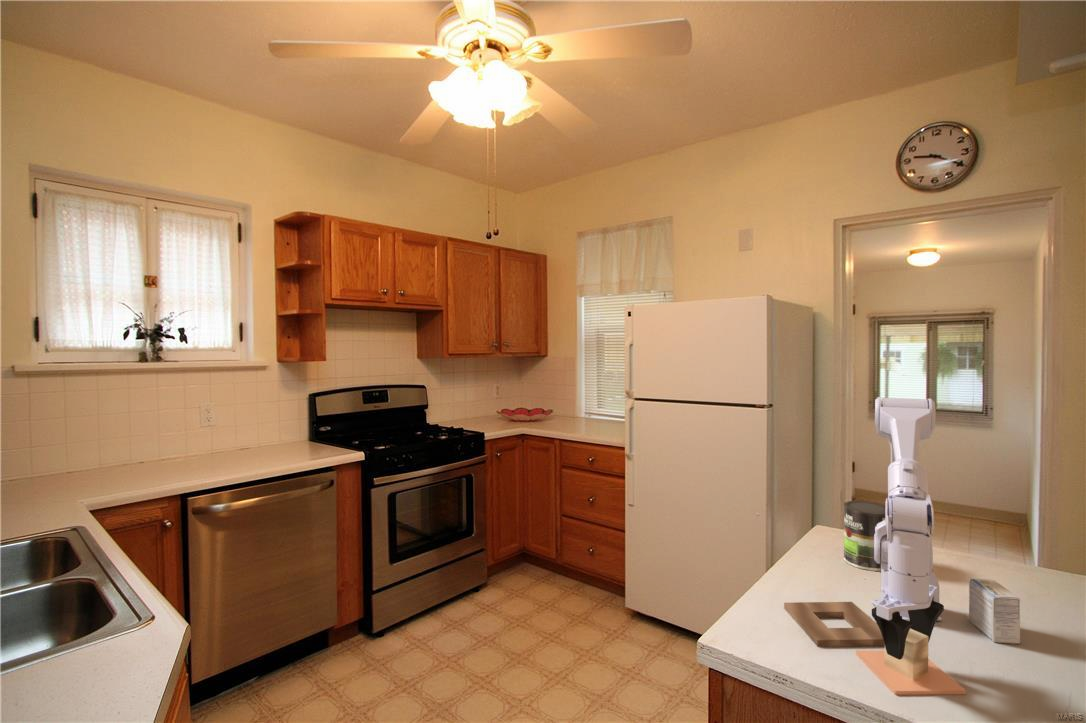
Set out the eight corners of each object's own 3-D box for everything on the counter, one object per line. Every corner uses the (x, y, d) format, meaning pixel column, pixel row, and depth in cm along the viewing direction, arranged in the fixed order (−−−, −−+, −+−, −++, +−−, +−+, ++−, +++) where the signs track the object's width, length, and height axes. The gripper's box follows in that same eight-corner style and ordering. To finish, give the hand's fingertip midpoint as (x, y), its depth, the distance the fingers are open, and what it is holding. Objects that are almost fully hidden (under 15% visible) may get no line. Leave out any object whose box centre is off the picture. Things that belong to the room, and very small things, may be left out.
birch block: (899, 657, 94) (899, 624, 93) (928, 671, 90) (928, 636, 89) (884, 665, 92) (884, 631, 91) (913, 680, 88) (913, 644, 87)
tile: (918, 653, 96) (918, 650, 96) (965, 694, 85) (965, 690, 85) (855, 654, 96) (855, 650, 96) (895, 694, 85) (895, 691, 85)
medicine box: (1020, 645, 98) (1021, 598, 98) (992, 643, 99) (993, 596, 98) (994, 622, 106) (994, 579, 105) (968, 620, 106) (968, 577, 106)
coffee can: (862, 573, 129) (862, 514, 128) (834, 555, 139) (834, 501, 138) (902, 570, 130) (902, 512, 129) (871, 553, 140) (872, 499, 139)
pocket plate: (851, 607, 112) (851, 601, 112) (894, 645, 98) (894, 639, 98) (784, 608, 113) (784, 602, 113) (817, 646, 99) (817, 640, 99)
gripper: (907, 552, 97) (906, 626, 97) (858, 570, 90) (857, 650, 90) (952, 566, 91) (951, 645, 91) (903, 586, 84) (902, 672, 84)
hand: (907, 649), depth 90 cm, fingers open, 7 cm apart
